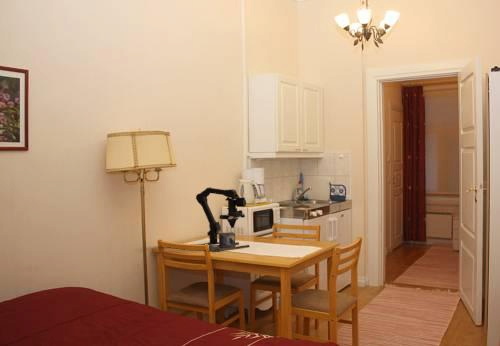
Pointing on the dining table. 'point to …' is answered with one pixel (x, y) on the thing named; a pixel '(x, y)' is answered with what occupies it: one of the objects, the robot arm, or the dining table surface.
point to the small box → (226, 240)
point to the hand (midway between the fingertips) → (232, 227)
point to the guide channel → (217, 248)
